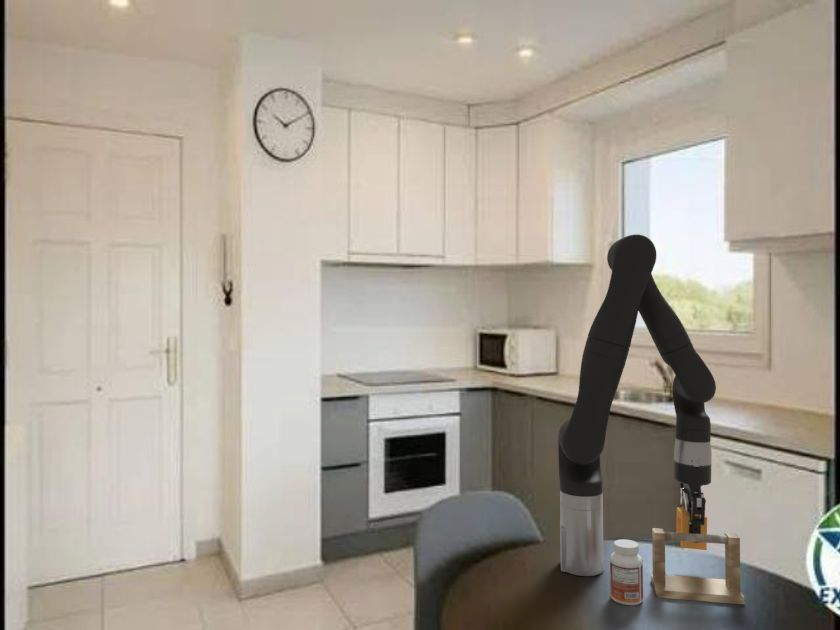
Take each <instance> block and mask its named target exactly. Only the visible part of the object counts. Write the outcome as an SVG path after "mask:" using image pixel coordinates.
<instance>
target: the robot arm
mask: <svg viewBox="0 0 840 630" xmlns="http://www.w3.org/2000/svg"><path fill="white" fill-rule="evenodd" d="M606 255H607V256H606V260H607V265H608V268H609V269H610V270H611V275H610V279H609V283H608V284H609V285H608V287H607V291H606V294H605V298H604V300H603V302H602V303H601V305H600V307H599V309H598V311H597V313H596V314H595V317H594V319H593V321H592V323H591V326H590V328H589V331H588V334H587V338H586V341H585V345H584V347H583V348H584V349H583V352H582V356H581V357H582V358H581V364H580V371H579V383H578V394H577V398H576V401H575V405H574V408H573V410H572V413H571V415H570V418H569V419H567V420H566V421H565V422H564V423H563V424H562V425H561V427H560V428H559V432H558V440H557V443H558V444H557V445H558V446H557V447H558V450H557V451H558V452H557V453H558V476H559V490H560V491H559V499H560V500H559V505H560V506H559V507H560V508H559V513H560V514H559V515H560V518H559V531H560V532H559V533H560V534H559V535H560V537H559V538H560V541H559V542H560V545H559V546H560V572H561V573H562V572H563V573H568V574H571V575H574V576H579V577H580V576H582V577H594V576H598V575H601V574H602V573H603V572H604V562H605V561H604V506H603V503H604V500H603V499H604V496H603V495H604V493H603V492H604V491H603V490H604V489H603V477H602V471H601V470H602V469H601V454H603V450H604V447H605V441H606V434H607V429H608V423H609V418H610V416H609V415H610V411H611V408H612V404H613V401H614V399H615V395H616V392H617V390H618V387H619V385H620V381H621V378H622V375H623V372H624V368H625V367H626V362H627V361H628V360H627V358H628V355H629V352H630V348H631V345H632V339H633V335H634V333H635V327H636V324H637V319H638V315H640V316H641V318H642V321H643V323H644V324H645V327H646V328H647V330H648V332H649V335H650V337H651V339H652V341H653V343H654V345H655V347H656V350H657V351H658V353H659V355H660V357H661V359H662V360H663V362H664V363H665V364H667V365H668V367H670V368H671V370H672V372H673V373H674V375H675V376H674V378H673V380H672V386H671V387H672V389H671V390H672V398H673V399H672V400H673V406H674V407H673V408H674V412H675V416H676V417H675V418H676V421H675V442H674V449H673V451H674V452H673V453H674V454H673V455H674V456H673V478H674V479H673V480H675V481H676V482H678V483H679V500H680V501H679V507H680V508H686V513H688V515H689V533H692V534H701V525H704V523H705V521H704V519H705V515H706V502H707V501H706V497H704V492H702V488H701V487H702V486H708V485H710V484H711V483H712V454H713V453H712V446H711V445H712V443H711V438H712V437H711V431H712V428H711V427H712V425H711V418H710V417H709V415H708V414H707V412H706V408H705V403H708V402H710V400H712V399H713V398H714V396H715V394H716V390H717V385H716V381H715V378H714V375H713V374H712V372H711V370H710V369H709V367H708V366H707V365H706V363H705V362H704V360H703V359H702V357H701V356H700V354H699V353H698V352H697V351H696V349H695V347H694V345H693V343H692V340H691V339H690V337H689V333H688V332H687V330H686V328H685V326H684V324H683V323H682V320H681V319H680V318H679V316H678V314H677V312H675V310H674V309H673V307H672V306H671V305H670V304H669V303H668V301H667V300H666V299H665V297H664V296H663V294H662V292H661V291H660V289H659V288H658V285H657V284H656V281H655V279H654V277H653V275H652V273H653V270H654V267H655V264H656V262H657V249H656V246H655V244H654V242H653V241H652V239H650V238H649V237H648V236H646V235H643V234H637V233H634V234H629V235H626V236H624V237H621V238H620V239H618V240H616V241H615V242H613V244H612V245H611V246H610V247H609V248H608V251H607V254H606ZM690 508H691V509H690ZM695 514H698V517H699V518H698V519H695ZM695 543H699V542H695Z"/></svg>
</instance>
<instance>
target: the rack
mask: <svg viewBox="0 0 840 630" xmlns="http://www.w3.org/2000/svg"><path fill="white" fill-rule="evenodd" d="M651 529H652V531H651V534H652V535H651V537H652V538H651V539H652V545H651V546H652V548H651V549H652V551H651V552H652V573H650V582H651V584H652V587H653V590H654V592H655V595H656V598H659V599H671V600H672V599H673V600H685V601H686V600H687V601H696V602H710V603H720V604H722V603H723V604H733V605H734V604H735V605H745V596H744V594H743V593H742V590H741V543H740V542H741V538H740V536H739V535H738V534H737V533H736V532H726V531H725V532H724V535H722V534H708V533H707V534H692V533H676V531H675V532H672V531H665V530H664V529H663V528H657V527H653V528H651ZM666 541H673V542H675V541H676V542H681V541H687V542H703V543H707V544H719V545H720V544H722V545H723V544H724V557H725V558H724V566H725V567H724V568H725V569H724V570H725V573H724V574H725V577H724V579H723V578H712V577H711V578H710V577H699V576H683V575H672V574H666Z"/></svg>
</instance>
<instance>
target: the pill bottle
mask: <svg viewBox="0 0 840 630" xmlns="http://www.w3.org/2000/svg"><path fill="white" fill-rule="evenodd" d="M639 547H640V546H639V543H638V542H637V541H635V540H631V539H617V540H614V541H613V550H614V551H613V552H612V553H611V555H610V558H609V569H610V571H609V572H610V573H609V574H610V577H609V578H610V580H609V581H610V582H609V584H610V597H611V600H613V601H614V602H616V603H618V604H620V605H625V606H637V605H639V604H641V603H642V602H643V600H644V575H643V574H644V573H643V572H644V567H643V566H644V565H643V559H642V557H641V555H639V552H640V551H639Z"/></svg>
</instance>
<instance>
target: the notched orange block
mask: <svg viewBox="0 0 840 630" xmlns="http://www.w3.org/2000/svg"><path fill="white" fill-rule="evenodd" d="M690 509H691V508H690ZM698 518H699V517H698V514H695V519H698ZM704 521H705V523H704V525H701V534H708V516H707V515H706V514H705V519H704ZM675 526H676V527H675V529H676V530H675V533H689V515H688V513H686V508H680V506H678V507H676V525H675ZM707 544H708V543H703V542H699V543H695V542H687V541H680V547H681V549H690V550H691V549H692V550H702V551H707V547H708V546H707Z"/></svg>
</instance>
